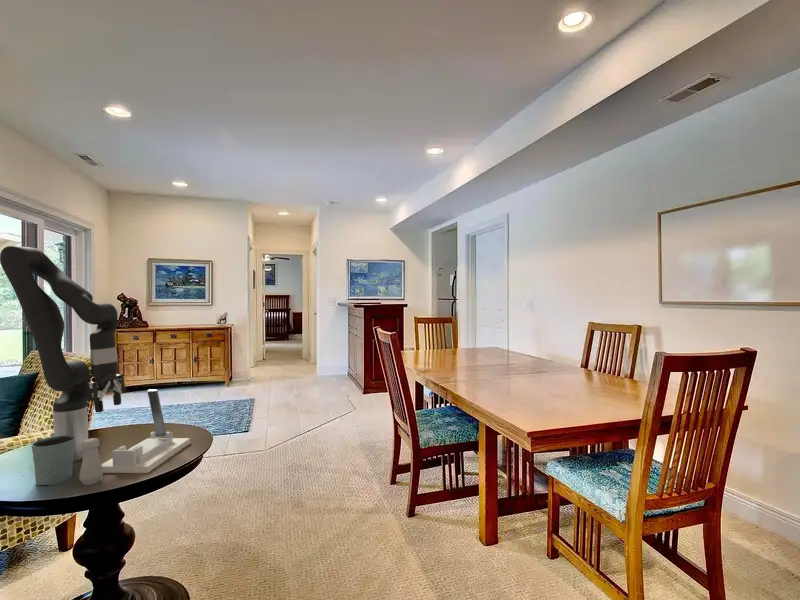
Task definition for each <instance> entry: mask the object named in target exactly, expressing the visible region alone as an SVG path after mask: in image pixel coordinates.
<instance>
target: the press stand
mask: <svg viewBox="0 0 800 600" xmlns="http://www.w3.org/2000/svg"><path fill="white" fill-rule="evenodd" d="M173 435H174V434H173V431H166V434H165V436H164V438H163V437H159V436H156V431H151V432H150V434H149V437H148V438H146V439H144V440H142V441H141V442H138V443H137V444H135V445H134V446H132V447H130V448H128V449H127V445H121V446H120V447H117V448H116V449H114V450H112V458H110V459H108V460H107V461H105V462H103V463H101V465H102V470H103V474H105V473H106V474H108V473H109V474H111V473H112V474H115V473H116V474H119V473H121V474H123V473H124V474H148V473H149V472H151V471H153V470H154V469H156V468H157V467H158V466H160V465H161V464H162V463H164V462H165V461H167V460H168V459H169V458H171V457H173V456H174V455H176V454H177V453H178V452H180V451H181V450H183V449H184V448H186V447H187V446H188V445H190V443H191V439H190V438H189V437H184V438H183V437H181V438H180V437H179V438H178V437H173ZM185 446H186V447H185ZM182 448H183V449H182ZM175 453H176V454H175Z"/></svg>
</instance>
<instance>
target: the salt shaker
mask: <svg viewBox="0 0 800 600" xmlns="http://www.w3.org/2000/svg"><path fill="white" fill-rule="evenodd" d="M99 446H100V439H99V438H98V437H97V438H96V437H91V438H88V439H87V440H84V441H83V442H82V449H84V455H83V458H82V459H81V460H82V462H81V465H80V471H79V475H78V478H79V481H80V483H82V486H92V485H95V484H97V483H99V482H101V480H102V477H103V476H104V475H103V474H104V473H103V470H102V465H101V464H102V461H101V458H100V453H99V449H98V447H99Z"/></svg>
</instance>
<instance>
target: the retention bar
mask: <svg viewBox="0 0 800 600" xmlns="http://www.w3.org/2000/svg"><path fill="white" fill-rule="evenodd" d="M146 393H147V396H148V401H149V405H150V411H151V415H152V419H153V423H154V424H153V425H154V430H155V432H156V436H158V437H165V434H166V432H167V430H166V425H165V421H164V420H165V419H164V415H163V411H162V406H161V400H160V396H159V392H158V389H148V390H147V392H146Z"/></svg>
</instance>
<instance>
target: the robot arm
mask: <svg viewBox="0 0 800 600" xmlns="http://www.w3.org/2000/svg"><path fill="white" fill-rule="evenodd" d="M0 265H1V268H2V271H3V272H4V274H5V277H7V279H8V281H9V284H10V285H11V287H12V289H13V290H14V293H15V295H16V298H17V300H18V302H19V304H20V306H21V308H22V309H21V310H22V312H23V315H24V318H25V320H26V323H27V326H28V328H29V331H30V333H31V335H32V338H33V340H34V344H35V346H36V349H37V352H38V356H39V359H40V364H41V367H42V372H43V375H44V379H45V381H46V384H47V385H48V386H49V388H50V389H51V390H53V391H55V392H62V393H61V395H60V396H59V397H58V398H57V399H56V400H55V401H54V402H53V404H52V414H53V416H52V417H53V419H52V420H53V432H51V433H50V437H55V436H63V435H71V436H74V437H75V443H74V450H73V451H74V453H73V462H77V461H79V460H83V455H84V449H82V442H83V441H84V440H87V439H89V423H88V422H89V418H88V401H89V402H94V403H93V405H94V406H93V407H94V411H95V413H102V412H104V401H103V398H104V396H105V395H106V393H107V392H111V393H112V399H113V401H112V402H113V405H114V406H119V405H122V395H121V394H122V393H123V391H126V385H125V378H124V374H119V372H120V371H119V359H118V353H117V352H118V351H117V349H116V348H117V347H116V339H115V337H116V336H115V334H116V330H117V324H118V318H119V316H118V314H119V313H118V312H117V311H118V310H117V309H116V307H115V306H114V305H113V304H111V303H108V302H103V303H96V302H94V301H93V300H94V297H93V295H92V294H91V293H90V291H88V290H86V288H84V287H82V286H81V285H80V284H79V283H77V282H75V281H74V280H72V279H71V278H70V277H69V276H68V275H67V274H66V273H65V272H63V271H62V270H61V268H60V267H58V266H57V265H56V264H55V263H54V261H52V259H50V258H49V257H48V256H47V255H46V254H45V253H44V251H41V250H40V249H38V248H35V247H31V246H20V245H8V246H5V247H4V248H3V249H1V251H0ZM34 275H35V276H37V277H38V278H41V279H42V280H44V281H45V282H47V283H48V285H49V287H50V288H51V290H52V292H53V294H54V295H55V296H56V297H57V298H58V299H59V300H60V301H62V302H63V303H65V304H66V305H68V306H69V307H70V308H72V309H73V310H74V312H75V313H76V315H77V316H78V317H79V318H80V319H81V320H82V321H83V322H85V323H87V324H89V325H97V326H96V329H95V331H93V332H92V333H90V334H89V347H90V355H89V357H90V367H91V368H90V367H89V366H88V364H87V363H85V362H84V361H83V360H77V359H76V360H71V361H67V360H66V358H65V356H64V353H63V349H62V342H63V337H64V333H65V332H64V331H65V321H64V318H63V315H62V313H61V310H60V307H59V306H58V304H57V302H56V301H55V300H54V299H53V298H52V297H51V296H50V295H48V293H47V292H45V291H44V290H43V288H41V287H40V285H39V284H38V283H37V282H36V279H35V278H34ZM91 377H93V378H95V379H94V382H93V381H91ZM120 386H121V387H120Z"/></svg>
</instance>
